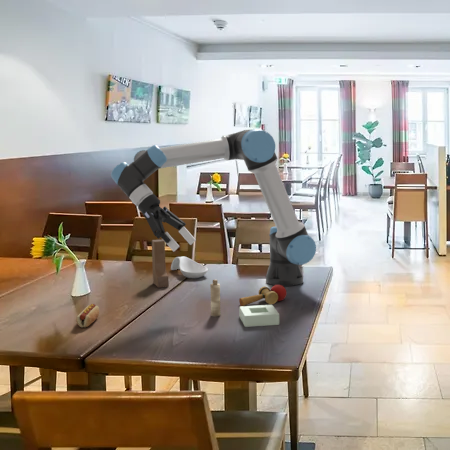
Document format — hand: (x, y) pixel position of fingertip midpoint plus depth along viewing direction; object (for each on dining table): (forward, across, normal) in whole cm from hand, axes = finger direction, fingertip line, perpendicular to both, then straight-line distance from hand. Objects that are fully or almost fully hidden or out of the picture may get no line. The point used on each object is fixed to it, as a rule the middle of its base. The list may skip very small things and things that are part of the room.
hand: (185, 245), depth 211 cm
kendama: (+32, -16, +1) cm, 36 cm away
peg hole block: (+35, +3, +4) cm, 35 cm away
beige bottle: (+25, +3, -7) cm, 26 cm away
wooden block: (-1, -29, -33) cm, 44 cm away
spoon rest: (0, -50, -32) cm, 59 cm away
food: (-1, +24, -34) cm, 41 cm away
